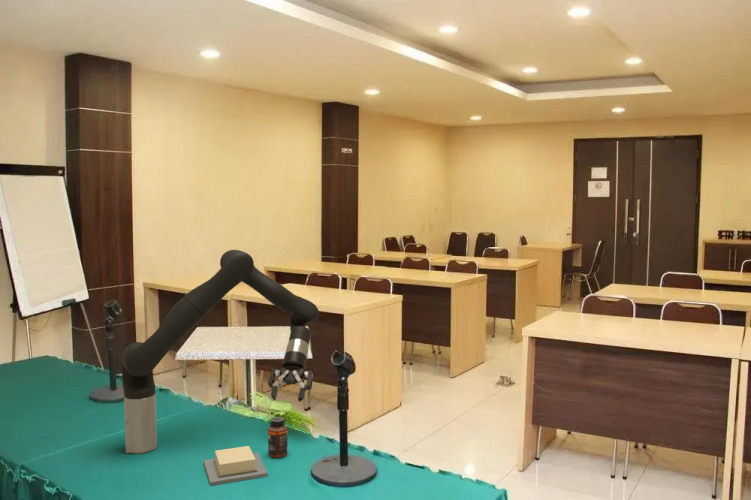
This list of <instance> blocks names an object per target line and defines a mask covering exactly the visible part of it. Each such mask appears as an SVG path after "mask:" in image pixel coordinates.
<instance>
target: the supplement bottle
mask: <svg viewBox="0 0 751 500" xmlns="http://www.w3.org/2000/svg"><path fill="white" fill-rule="evenodd" d="M288 446H289V445H288V426H287V425H286V424H285V418H284V417H283V416H275V417H272V418H271V419H270V425H269V426H268V428H267V452H268V456H269V457H270V458H275V459H278V458H279V459H280V458H283V457H285V456H287V455H288V449H289V448H288Z"/></svg>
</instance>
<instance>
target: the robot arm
mask: <svg viewBox="0 0 751 500" xmlns="http://www.w3.org/2000/svg"><path fill="white" fill-rule="evenodd" d="M254 265H255V263H254V259H253V257H252V256H251V255H250V254H249V253H248V252H245V251H243V250H239V249H229V250H227V251H225V252H224V253H223V254H222V255H221V256H220V260H219V266H220V268H219V270H217V272H216V273H215V274H214V275H213V276H212V277H211V278H209V279H207V280H206V281H205V282H203V283H201V284H199V285H198V286H197V287H194V288H193V289H191V290H190V291H189V292H187V293H185V295H183V296H182V298H180V299H179V300H178V301H177V302H176V303H175V304H174V305H173V306H172V307H171V309H170V310H169V311H168V312H167V314H166V315H165V317H164V318H163V320H162V321H161V324H159V327H158V328H157V329H156V330H155V332H153V334H151V335H150V336H149V337H148V338H147V339H145V341H144V342H141V341H140V342H139V341H135V342H132V343H130V344H128V345H127V346H126V347H124V349H123V352H122V354H121V359H120V360H121V361H120V362H121V379H122V380H121V382H122V389H123V403H124V405H123V406H124V409H123V410H124V436H125V437H124V439H125V443H124V444H125V454H143V453H144V454H145V453H149V452H151V451H153V450H155V449H156V448H157V446H158V443H157V441H158V438H157V434H158V433H157V403H156V402H157V399H156V397H157V396H156V383H155V378H154V370H155V368H156V367H157V366H158V365H159V363H160V362H161V361H162V360H163V358H164V357H165V356H166V355H167V354H168V353H169V352H170V350H171V349H172V348H173V347H174V346H175V345H176V344H178V342H180V341H181V340H182V339H183V338H184V337H185V336H187V334H188V333H189V332H190V331H191V330H192V329H193V328H194V327H196V326H197V325H199V323H200V322H201V321H202V320H203V319H204V318H205V317H206V316H207V315H208V313H210V312H211V311H212V310H213V309H214V308H215V307H216V306H217V304H218V303H219V302H220V301H221V300H222V299H223V298H224V297H225V296H226V295H228V293H229V292H230V291H231V290H233V289H234V288H235V287H236V286H238V285H239V284H241V283H244V284H245V285H247V286H249V287H250V288H251V289H252V290H253V291H256V292H257V293H259V295H261V296H262V297H263V298H265V299H266V300H267V301H268V302H270V303H271V304H272V305H274V306H275V307H276V308H277V309H279V310H280V311H282V312H283V313H290V312H291V313H290V316H289V328H290V333H289V338H288V342H287V345H286V348H285V353H284V358H283V361H282V367H281V369H280V370H278V369H276V368H274V367H273V368H272V369H271V371H270V374H269V376H268V381H267V384H268V387H269V388H270V389H271V393H270V396H271V399H272V400H273V401H276V399H277V395H278V392H279V389H280V388H281V387H282V386H284V385H285V384H286V385H296V384H298V387H300V388H299V391H298V396H297V400H298V402H302V401H303V400H304V398H305V394H306V391H311V390H312V387H313V380H314V373H313V371H312V370H311V369H310V370H308V371H305V369H306V365H307V359H308V356H309V345H310V342H311V335H312V334H311V330H310V328H308V327H306V326H307V325H309V324H312V323H314V322H316V321H317V320H318V319H319V317H320V311H319V308H318V307H317V306H316V304H315V303H313V302H312V301H311V300H309V299H306V298H304V297H301V296H299V295H295V294H294V293H293V292H291V291H290V290H289V289H288V288H286V286H284V285H283V284H281V283H279V282H277V281H276V280H274V279H273V278H271V277H269V276H268V275H266V274H265V273H263V272H262V271H260V270H259V269H258V268H256V267H255V266H254ZM279 375H280V376H279ZM278 376H279V377H278ZM277 377H278V378H277ZM304 377H306V384H304V383H303V381H302V379H303V378H304ZM276 378H277V380H276Z"/></svg>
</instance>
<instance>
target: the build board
mask: <svg viewBox="0 0 751 500" xmlns="http://www.w3.org/2000/svg"><path fill="white" fill-rule="evenodd" d="M214 456H215V457H214V458H211V459H204V460H203V465H204V470H205V472H206V475H207V479H208V482H209V485H210V486H217V485H223V484H228V483H229V484H230V483H234V482H235V483H236V482H241V481H247V480H254V479H259V478H260V479H261V478H265V477H266V478H267V477H269V472H268V470H267V468H266V467H265V464H264V463H263V460H262V458H261V457H260V454H259V452H253V450H252V449H251V446H249V445H245V446H238V447H233V448H232V447H231V448H226V449H218V450H214Z"/></svg>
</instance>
